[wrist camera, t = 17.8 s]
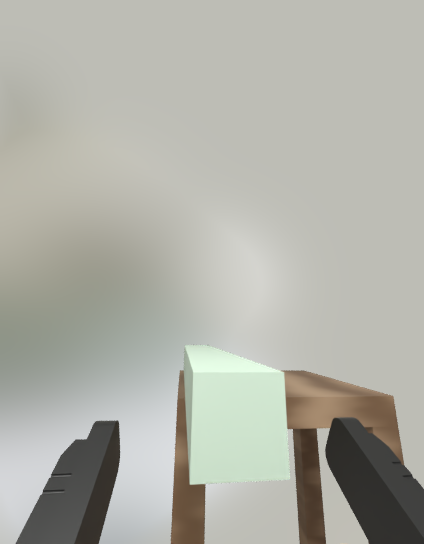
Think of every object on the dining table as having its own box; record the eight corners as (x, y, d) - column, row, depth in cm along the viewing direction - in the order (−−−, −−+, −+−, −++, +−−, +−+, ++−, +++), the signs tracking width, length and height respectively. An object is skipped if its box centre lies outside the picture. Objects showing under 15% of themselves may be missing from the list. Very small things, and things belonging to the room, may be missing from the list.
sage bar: (207, 370, 30) (208, 345, 31) (290, 479, 7) (284, 372, 8) (183, 370, 30) (184, 345, 31) (189, 484, 7) (193, 372, 8)
